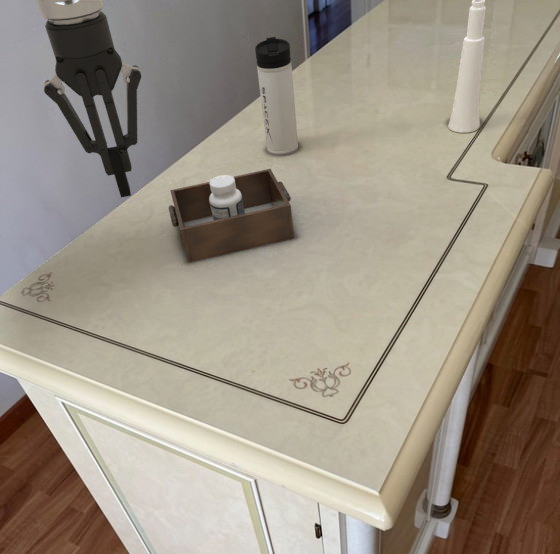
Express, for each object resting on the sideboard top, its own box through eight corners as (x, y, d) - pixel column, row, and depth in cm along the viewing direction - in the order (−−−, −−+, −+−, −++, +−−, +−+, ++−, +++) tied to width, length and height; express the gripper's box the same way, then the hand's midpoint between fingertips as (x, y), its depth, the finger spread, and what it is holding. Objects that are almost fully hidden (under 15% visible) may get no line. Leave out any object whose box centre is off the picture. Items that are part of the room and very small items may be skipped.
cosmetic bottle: (470, 118, 120) (485, -7, 104) (485, 129, 116) (503, 1, 100) (442, 124, 119) (454, -1, 104) (456, 135, 115) (470, 7, 99)
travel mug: (297, 142, 120) (288, 34, 106) (299, 157, 115) (290, 45, 101) (266, 146, 120) (253, 39, 106) (268, 161, 116) (254, 50, 101)
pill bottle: (239, 218, 100) (230, 169, 94) (252, 231, 97) (244, 181, 90) (211, 229, 99) (200, 179, 92) (223, 242, 95) (213, 192, 89)
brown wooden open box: (183, 267, 92) (173, 231, 88) (173, 226, 102) (164, 191, 97) (300, 240, 94) (297, 203, 90) (280, 202, 104) (276, 167, 99)
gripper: (18, 32, 69) (82, 212, 85) (129, 14, 70) (170, 195, 87) (22, 16, 74) (81, 189, 91) (125, 0, 76) (165, 173, 92)
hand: (125, 192), depth 89 cm, fingers closed
